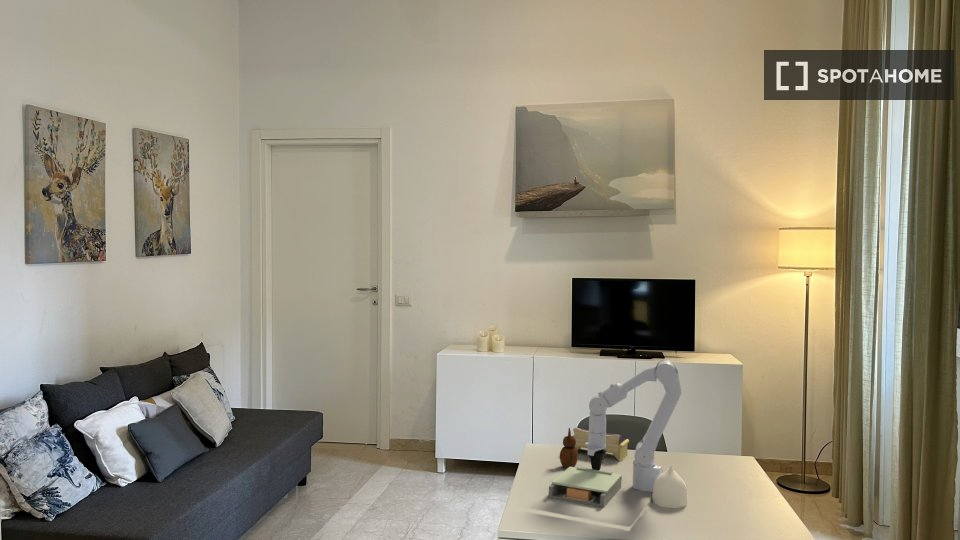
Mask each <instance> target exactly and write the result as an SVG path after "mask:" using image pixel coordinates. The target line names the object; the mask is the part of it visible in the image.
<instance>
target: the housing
mask: <svg viewBox="0 0 960 540" xmlns="http://www.w3.org/2000/svg"><path fill="white" fill-rule="evenodd" d="M622 479H623V478H622V477H621V478H620V479H619V480H618V481H617V482H616V483H615V484H614V486H613V487H612V488H611V489H610V490H609V491H608V492H607V493H604V492H598V491H592V490H591V500H590V501H586V500H581V499H575V498H569V497H567V488H568V486H562V485H556V484H552V483H551V484H550V485H549V486H548V499H553V500H560V501H565V502H569V503H570V502H571V503H575V504H581V505H586V506H592V507H599V508H606V506H607V505H608V504H609V503H610V501H611V500H612V499H613V498H614V496H615V497H616V495H617V493H618V492H619V491H620V490H621V489H622Z"/></svg>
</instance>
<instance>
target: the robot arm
mask: <svg viewBox="0 0 960 540" xmlns="http://www.w3.org/2000/svg"><path fill="white" fill-rule="evenodd" d="M657 380H658V381H659V382H660V383H661V385H663V388H664V390H665V394H664V396H663V398H662V399H661V401H660V404H659V405H658V408H657V410H656V412H655V414H654V416H653V418H652V421H651V423H649V426H648V428H647V431H646V432H645V434H644V435H643V437H642V439H641V440H640V441H639V442H637V443H636V446H635V452H634V460H633V461H632V462H633V463H632V464H633V465H632V488H633V489H635V490H637V491H643V492H651V493H653V486H654V483H655V480H656V479H657V478H658V477H659V476H660V474H662V473H663V467H662V466H661V465H658V464H656V461H655V452H656V449H657V446H658V444H659V441H660V439H661V437H662V436H663V433H664V431H665V429H666V427H667V424H668V423H669V421H670V418H671V416H672V414H673V413H674V410H675V408H676V406H677V404H678V402H679V400H680V397H681V395H682V388H681V387H682V386H681V382H680V377H679V371H678V369H677V367H676V365H675V364H674V362H673V361H672V360H669V359H667V358H666V359H661V360H659V361H658V362H657V363H656V362H655V363H653V364H651V365H649V366H647V367H646V368H644V369H643V370H641V371H640V372H638V373H637V374H635V375H634V376H632V377H631V378H629V379H627V380H626V381H625V382H623V383H619V382H616V383H613V382H612V383H611V384H609V387H608V388H606V389H604V390H603V391H599V392H598V394H596V395H594V396H592V397H591V398H590V401H589V404H588V410H589V418H588V430H589V441H588V442H586V443H585V446H588V449H587V450H586V453H587V456H588V458H589V460H590V464H591V469H594V470H600V471H601V468H602V467H601V466H602V463H603V460H604V457H605V455H606V453H607V452H606V450H604V449H605V448H606V433H607V418H606V416H607V414H606V413H607V409H608V408H612V407H614V406H616V405H617V404H618V403H620V402H622V401H623V400H626V398H627V397H628V393H629V392H631V391H632V390H634V389H636V388H637V387H639V386H641V385H643V384H645V383H647V382H657Z"/></svg>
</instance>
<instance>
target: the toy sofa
mask: <svg viewBox="0 0 960 540" xmlns="http://www.w3.org/2000/svg"><path fill="white" fill-rule="evenodd" d="M572 432H573V435H571V436H572V437H574V438H575V439H576V445H575V446H574V447H576V449H577V451H579V450H581V449H587V450H588V446H585V443H586V442H588V441H589V429H584V428H579V427H573V430H572ZM622 438H623V436H622V435H620V434H616V433H615V434H614V433H607V432H606V448H605V449H604V450H606V453H609V454H612V455H614V457H615V458H616V460H617V461H618V462H621V461H622V459H623V458H624V459H625V458H627V457H628V446H629V445H628V444H629V442H630V440H629V439H628V438H626V439H624V440H623V441H622ZM580 448H581V449H580ZM626 456H627V457H626ZM624 459H623V460H624ZM620 460H621V461H620Z"/></svg>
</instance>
